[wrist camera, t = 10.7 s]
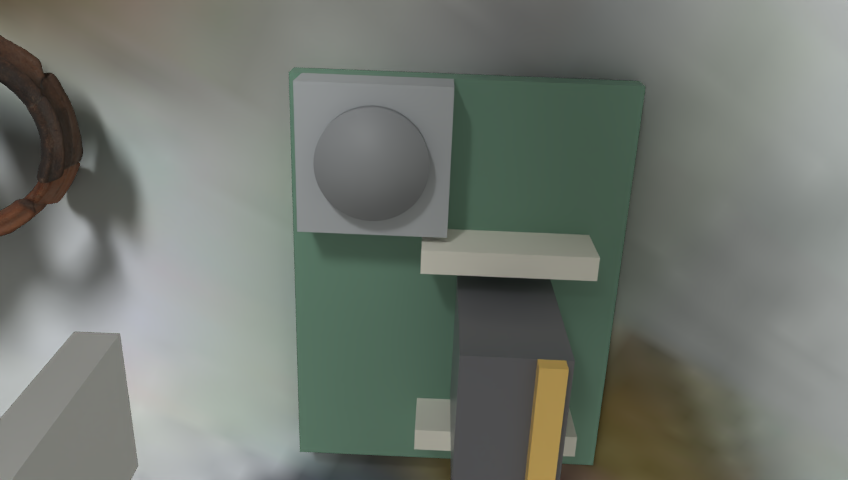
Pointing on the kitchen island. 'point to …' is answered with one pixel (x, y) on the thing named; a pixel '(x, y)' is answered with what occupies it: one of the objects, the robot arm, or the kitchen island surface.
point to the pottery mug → (41, 132)
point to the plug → (508, 380)
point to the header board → (447, 237)
